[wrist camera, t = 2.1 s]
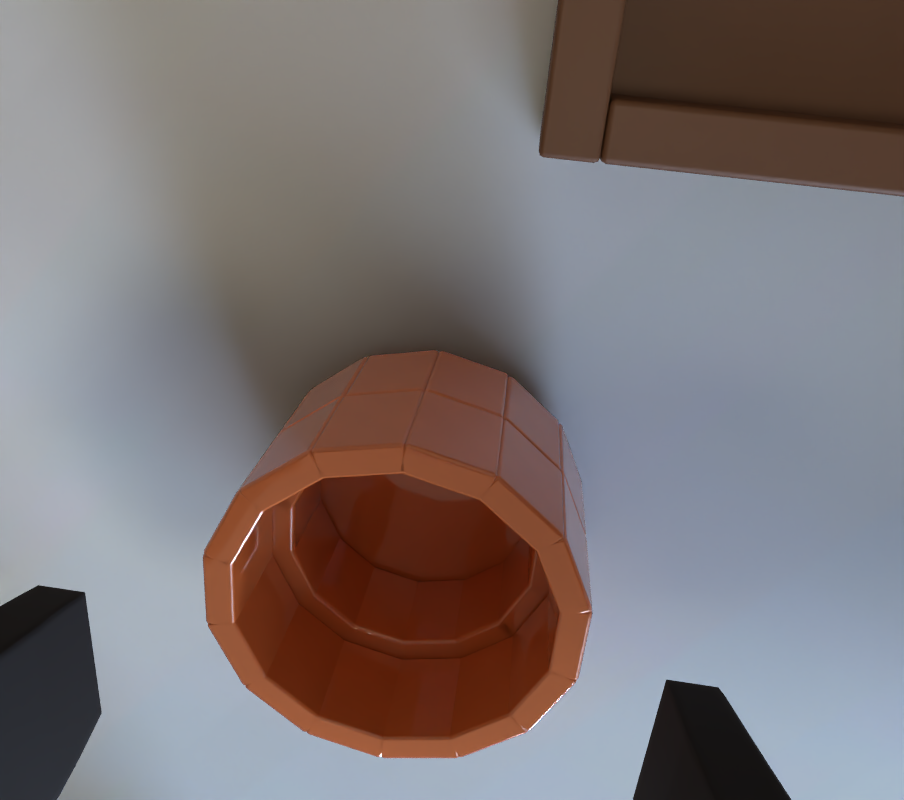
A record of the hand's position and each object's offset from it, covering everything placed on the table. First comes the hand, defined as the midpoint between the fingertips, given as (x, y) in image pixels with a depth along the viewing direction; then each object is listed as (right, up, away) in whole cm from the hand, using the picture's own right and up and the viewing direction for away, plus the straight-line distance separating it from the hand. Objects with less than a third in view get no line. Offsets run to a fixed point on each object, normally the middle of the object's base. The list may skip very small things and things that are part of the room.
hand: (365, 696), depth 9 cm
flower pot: (+1, +2, +5) cm, 6 cm away
